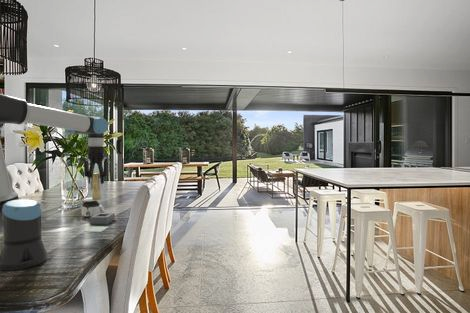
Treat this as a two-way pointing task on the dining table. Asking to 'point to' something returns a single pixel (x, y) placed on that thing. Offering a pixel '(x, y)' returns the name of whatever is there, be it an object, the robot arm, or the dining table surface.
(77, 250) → the dining table surface
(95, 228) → the mat
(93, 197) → the plug
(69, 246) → the dining table surface
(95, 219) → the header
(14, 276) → the dining table surface
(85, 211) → the spread jar
